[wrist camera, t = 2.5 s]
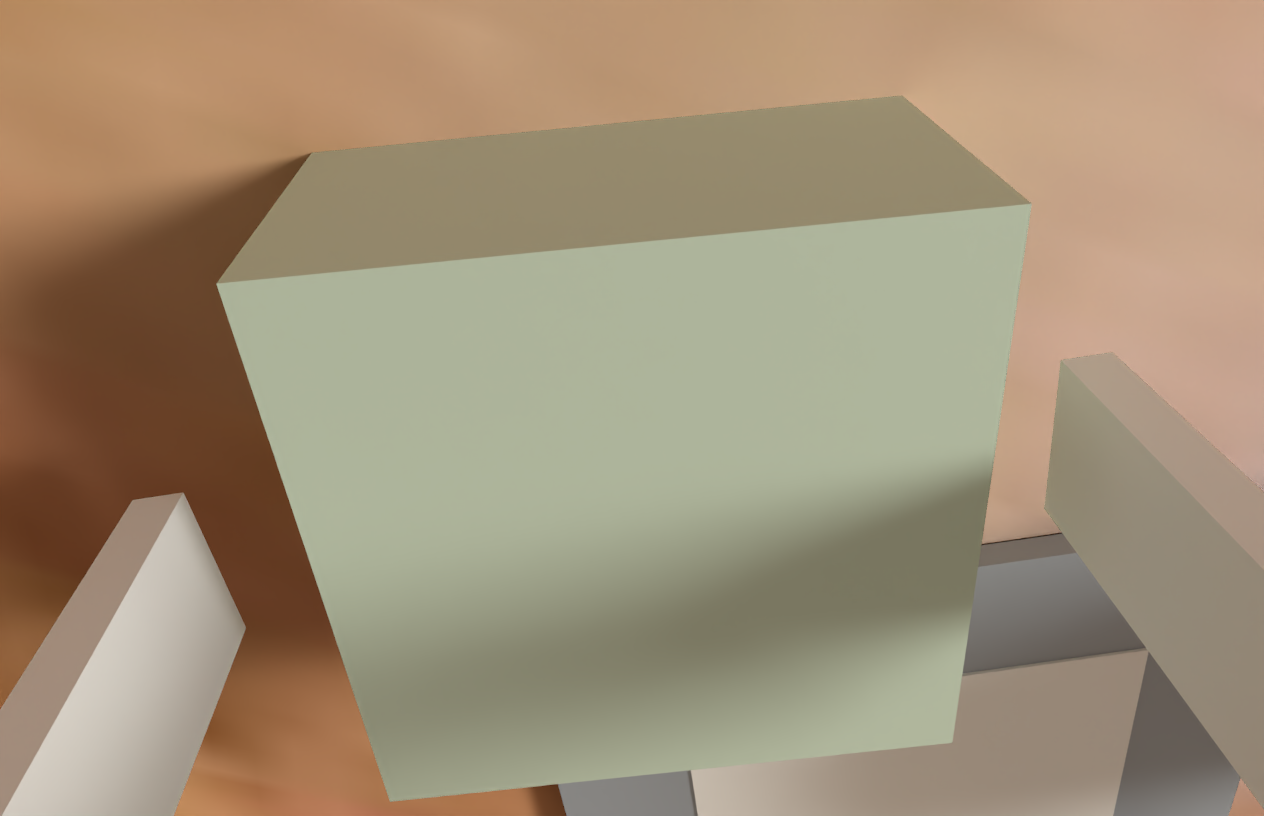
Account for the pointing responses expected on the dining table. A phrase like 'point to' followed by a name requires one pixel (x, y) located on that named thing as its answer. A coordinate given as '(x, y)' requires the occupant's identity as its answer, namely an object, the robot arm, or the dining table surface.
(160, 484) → the dining table surface
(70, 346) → the dining table surface
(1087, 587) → the plate
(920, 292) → the block
